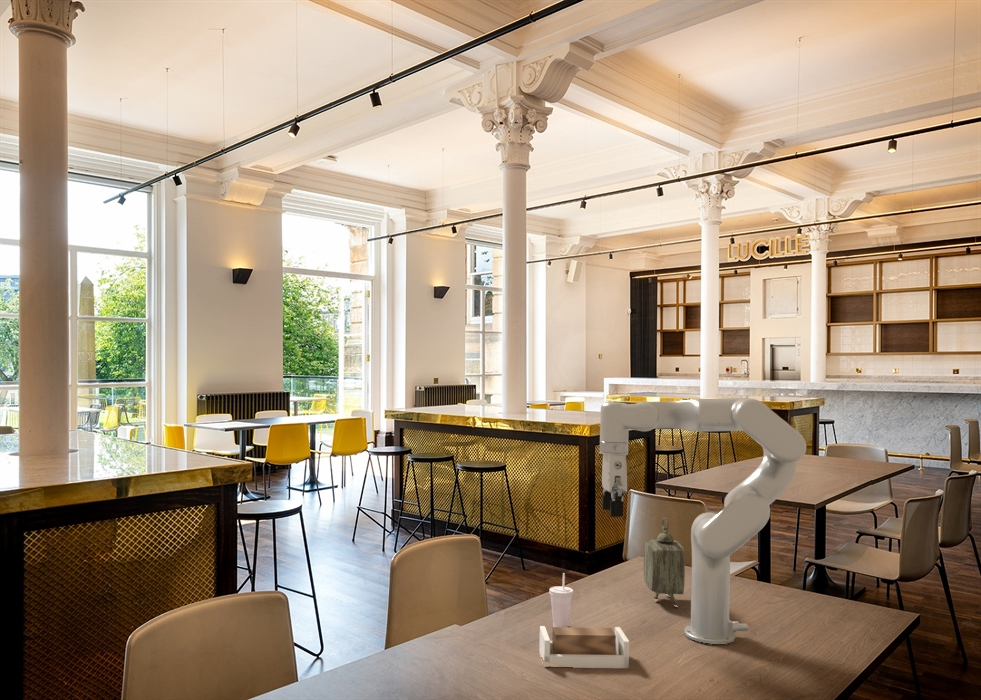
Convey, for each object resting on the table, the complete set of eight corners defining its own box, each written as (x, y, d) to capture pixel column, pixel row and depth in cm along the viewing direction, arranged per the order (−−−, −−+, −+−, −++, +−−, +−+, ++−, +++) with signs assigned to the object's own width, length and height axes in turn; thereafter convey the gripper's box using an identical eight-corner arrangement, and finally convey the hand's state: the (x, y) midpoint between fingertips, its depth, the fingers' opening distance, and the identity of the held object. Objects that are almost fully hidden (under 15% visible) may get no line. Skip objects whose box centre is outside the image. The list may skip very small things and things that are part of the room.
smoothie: (571, 631, 183) (572, 577, 183) (546, 629, 184) (548, 575, 185) (573, 623, 189) (574, 570, 190) (549, 621, 190) (551, 568, 191)
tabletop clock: (684, 610, 203) (685, 523, 204) (652, 609, 203) (654, 522, 204) (671, 595, 217) (673, 513, 218) (642, 594, 217) (644, 512, 218)
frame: (619, 652, 170) (619, 627, 170) (628, 668, 160) (629, 641, 161) (539, 651, 169) (539, 626, 169) (544, 667, 159) (544, 640, 160)
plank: (610, 647, 168) (611, 627, 168) (615, 655, 163) (615, 635, 163) (552, 646, 167) (552, 627, 167) (555, 654, 162) (555, 634, 162)
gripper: (636, 452, 180) (634, 519, 179) (620, 445, 197) (618, 507, 196) (607, 451, 179) (605, 519, 179) (593, 445, 197) (592, 506, 196)
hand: (612, 513), depth 187 cm, fingers open, 9 cm apart
